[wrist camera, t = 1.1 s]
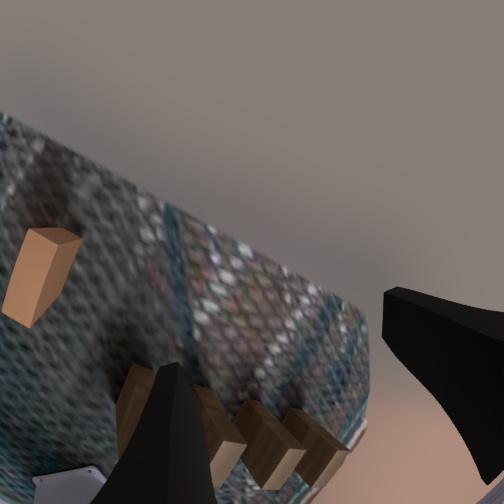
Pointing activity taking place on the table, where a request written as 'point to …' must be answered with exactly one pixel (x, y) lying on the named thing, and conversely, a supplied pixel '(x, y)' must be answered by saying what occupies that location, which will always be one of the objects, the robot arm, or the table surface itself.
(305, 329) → the table surface
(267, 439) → the domino
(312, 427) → the domino
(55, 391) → the table surface
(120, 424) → the domino
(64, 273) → the domino
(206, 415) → the domino
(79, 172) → the table surface
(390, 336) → the robot arm
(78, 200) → the table surface
